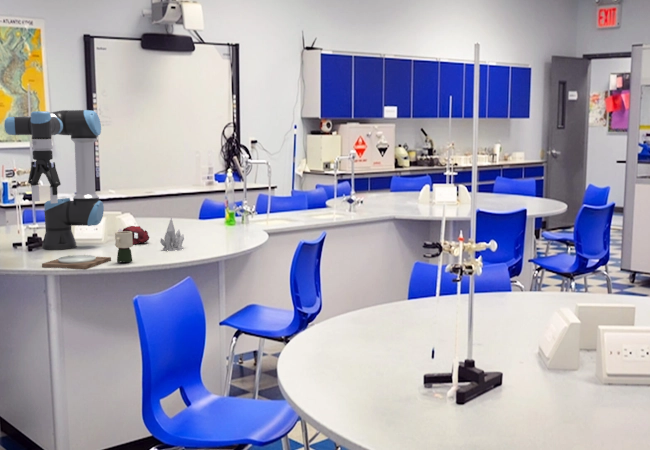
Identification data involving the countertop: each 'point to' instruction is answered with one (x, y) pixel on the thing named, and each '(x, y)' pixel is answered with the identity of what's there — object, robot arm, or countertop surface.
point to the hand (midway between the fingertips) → (45, 202)
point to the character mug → (124, 246)
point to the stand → (76, 266)
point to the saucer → (77, 259)
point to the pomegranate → (137, 234)
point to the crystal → (172, 239)
